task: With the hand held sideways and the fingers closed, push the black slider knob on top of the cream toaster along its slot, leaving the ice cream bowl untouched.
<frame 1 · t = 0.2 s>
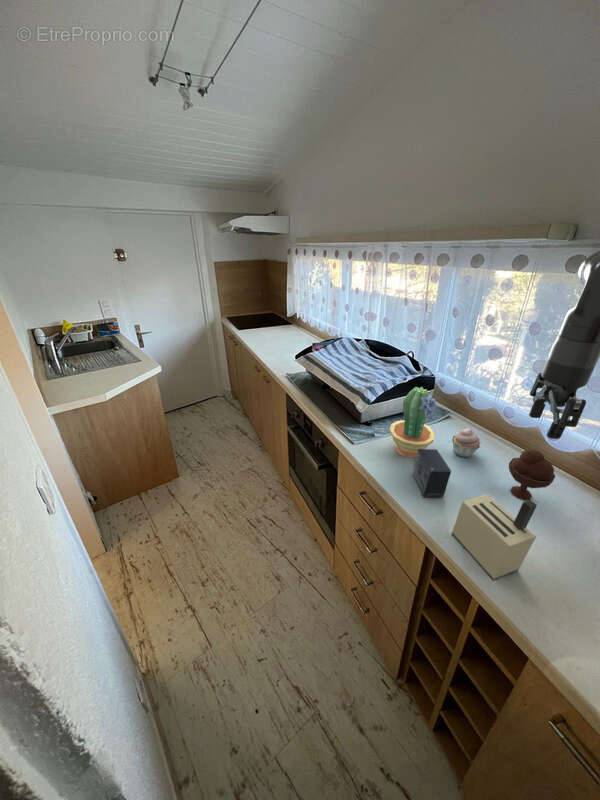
hand: (542, 426, 69), 31 cm above the worktop, tool pointing down, fingers open, 8 cm apart
ice cream bowl: (520, 493, 92), on the worktop
potted cactus: (408, 449, 112), on the worktop
toaster: (482, 551, 76), on the worktop
cupcake: (462, 452, 110), on the worktop
small box: (427, 486, 96), on the worktop
slider: (524, 515, 66), point 16 cm above the worktop, slide at 0.0 cm
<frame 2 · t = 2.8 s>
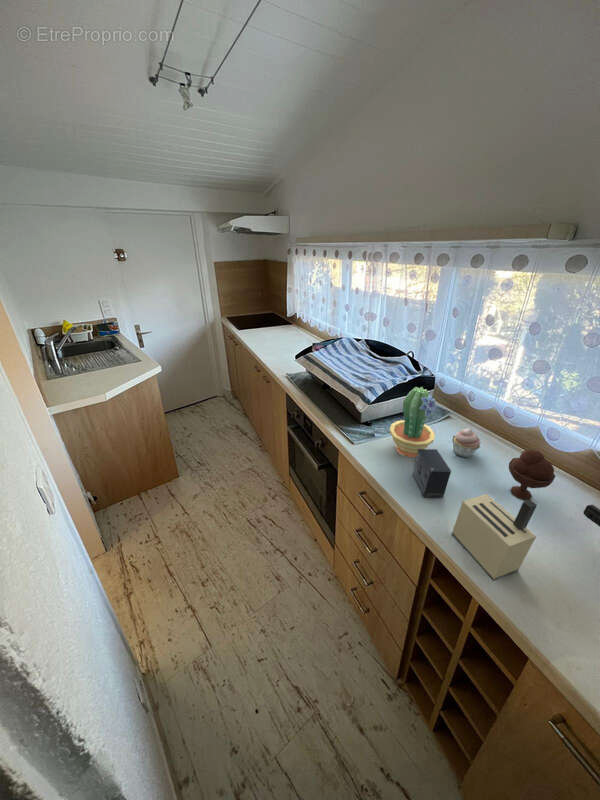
nothing on the worktop moved.
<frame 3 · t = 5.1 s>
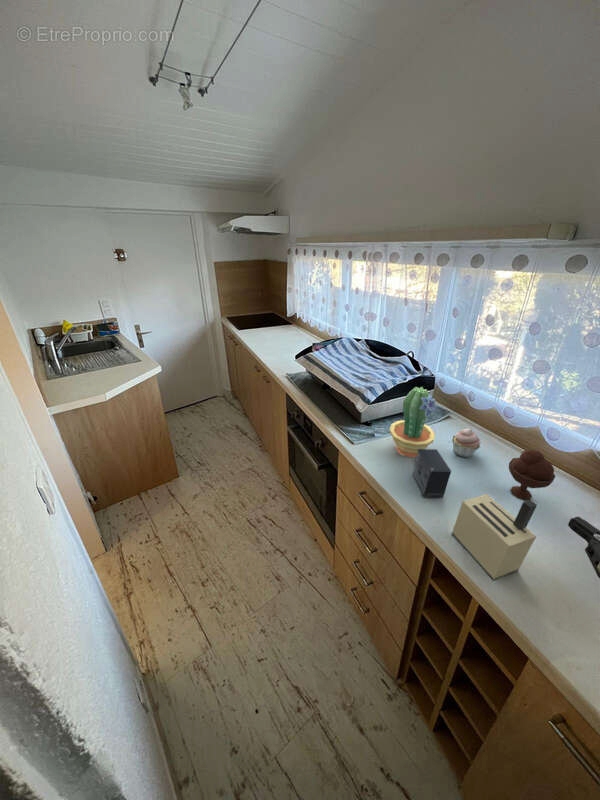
hand: (572, 520, 57), 22 cm above the worktop, tool horizontal, fingers closed
nothing on the worktop moved.
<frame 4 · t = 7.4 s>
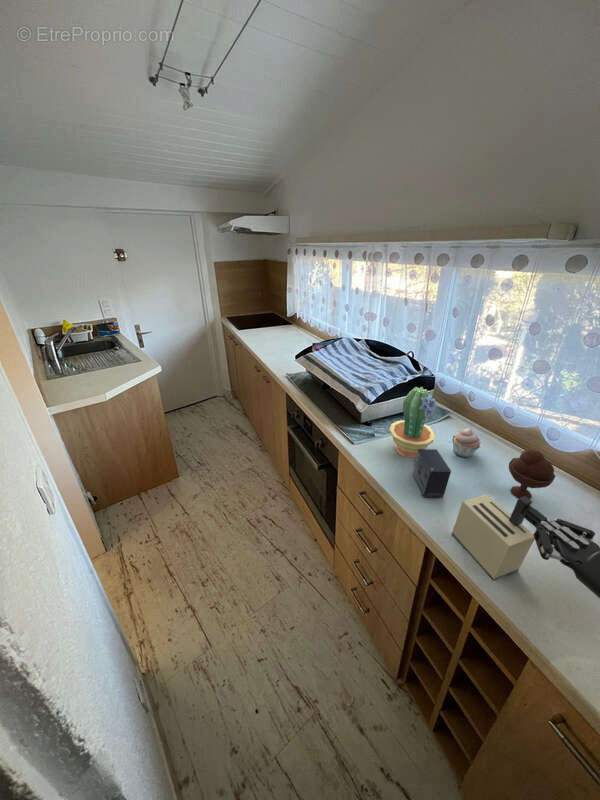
hand: (525, 509, 65), 17 cm above the worktop, tool horizontal, fingers closed
slider: (520, 511, 67), point 16 cm above the worktop, slide at 1.1 cm, touching gripper
everything else where it was.
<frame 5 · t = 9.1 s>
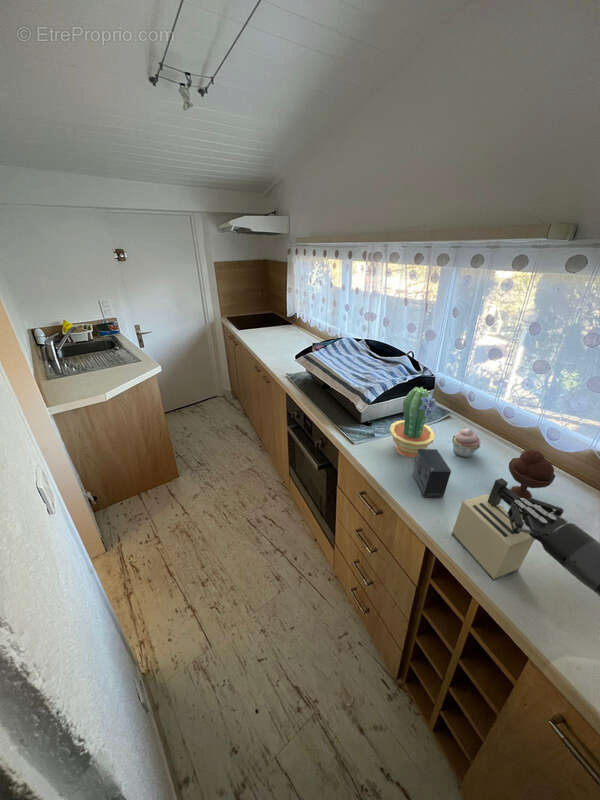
hand: (501, 490, 70), 17 cm above the worktop, tool horizontal, fingers closed
slider: (497, 492, 72), point 16 cm above the worktop, slide at 7.0 cm, touching gripper
everything else where it was.
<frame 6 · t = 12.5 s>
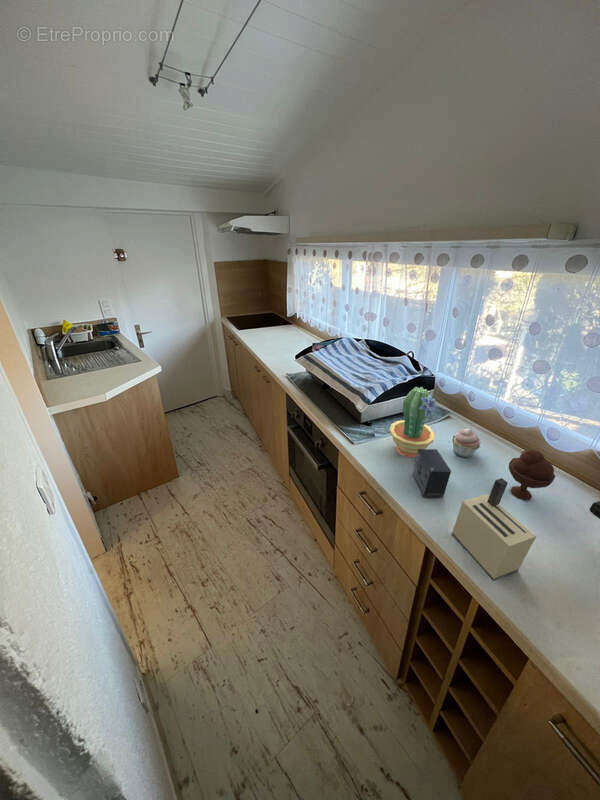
hand: (594, 505, 53), 27 cm above the worktop, tool horizontal, fingers closed
slider: (497, 492, 72), point 16 cm above the worktop, slide at 7.0 cm
everything else where it was.
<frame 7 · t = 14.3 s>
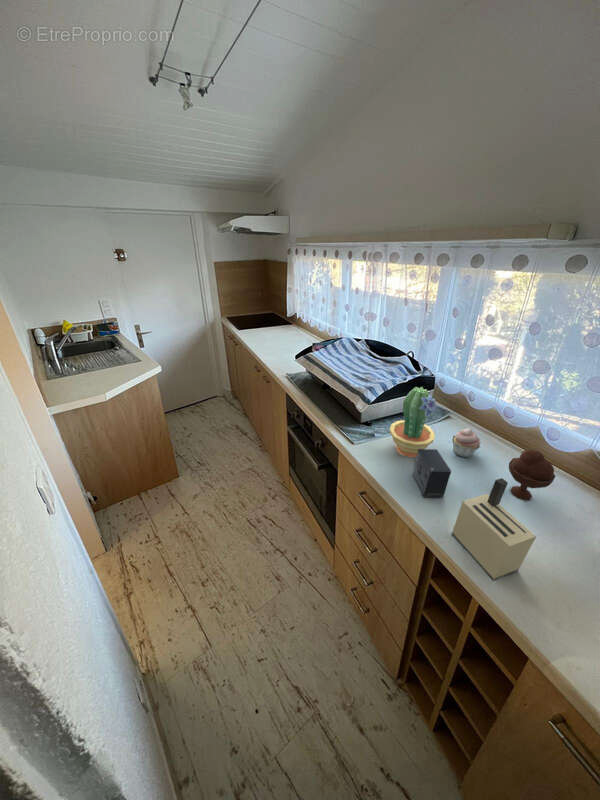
nothing on the worktop moved.
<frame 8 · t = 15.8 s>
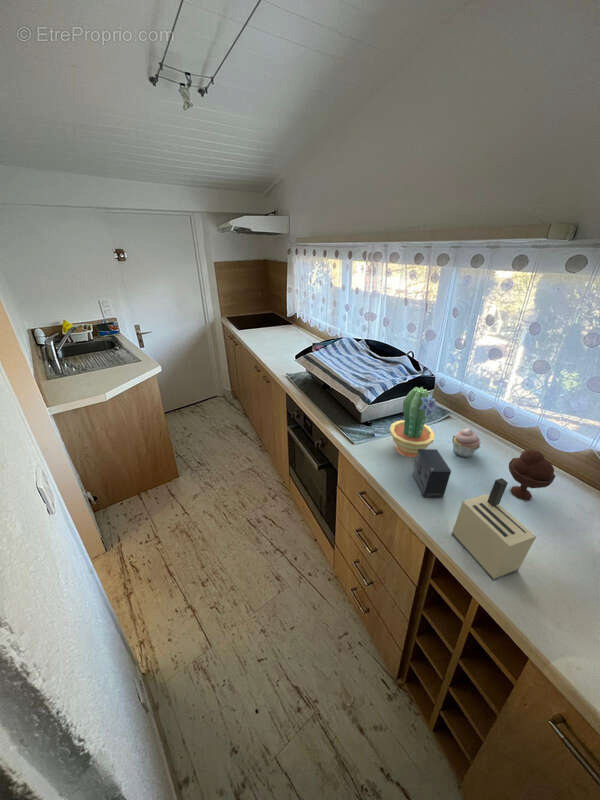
nothing on the worktop moved.
at the end: slider slide at 7.0 cm; ice cream bowl moved 0.2 cm from its start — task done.
